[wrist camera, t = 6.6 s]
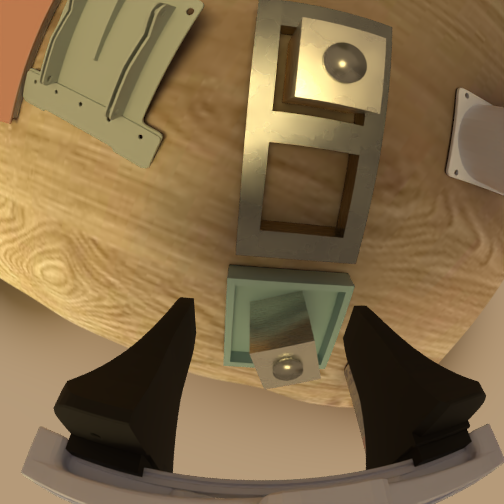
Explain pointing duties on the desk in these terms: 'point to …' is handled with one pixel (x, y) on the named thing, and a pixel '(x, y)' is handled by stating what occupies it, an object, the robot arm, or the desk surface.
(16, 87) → the notebook
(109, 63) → the metal bracket
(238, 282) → the parts tray
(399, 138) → the desk surface
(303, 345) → the nut block
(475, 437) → the robot arm
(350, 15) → the grey holder frame
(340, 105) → the nut block
